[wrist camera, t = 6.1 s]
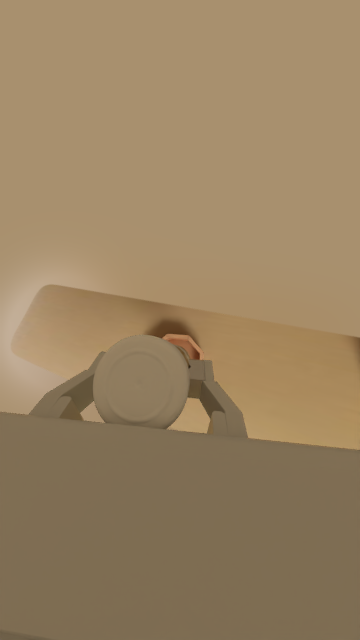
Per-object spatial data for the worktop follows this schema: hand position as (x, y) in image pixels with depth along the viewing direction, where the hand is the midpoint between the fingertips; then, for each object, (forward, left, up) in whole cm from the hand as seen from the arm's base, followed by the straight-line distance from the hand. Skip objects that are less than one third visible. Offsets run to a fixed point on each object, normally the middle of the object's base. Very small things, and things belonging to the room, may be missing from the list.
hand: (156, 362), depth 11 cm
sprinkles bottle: (0, 0, -10) cm, 10 cm away
